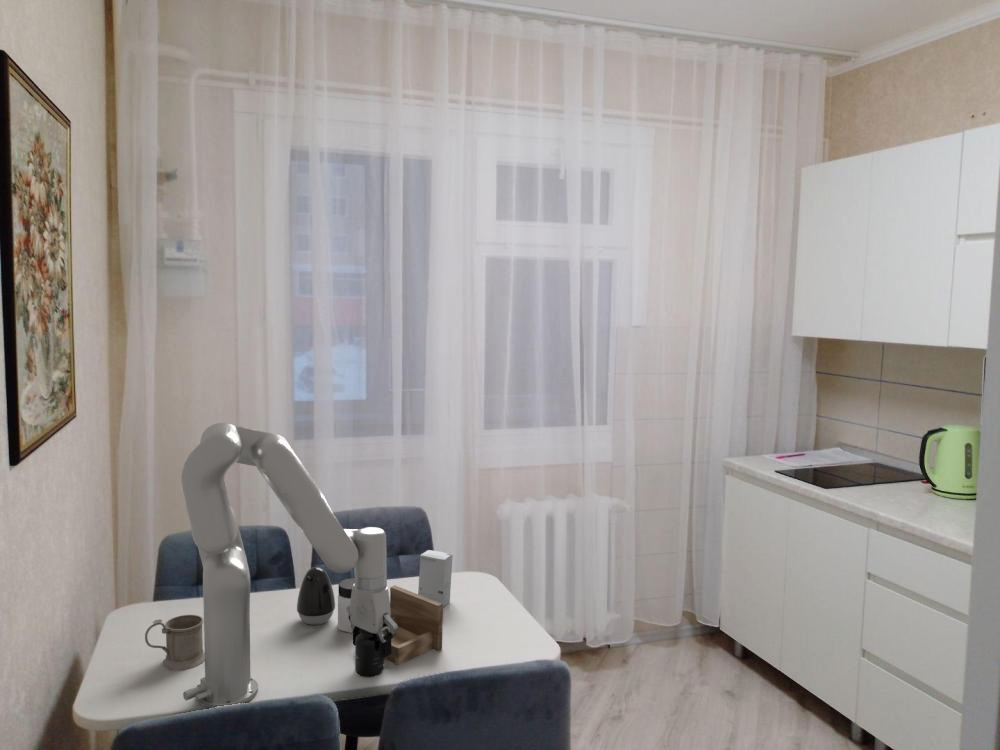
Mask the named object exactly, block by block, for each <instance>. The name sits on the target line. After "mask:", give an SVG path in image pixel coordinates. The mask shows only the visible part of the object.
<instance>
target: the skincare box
mask: <svg viewBox="0 0 1000 750" xmlns="http://www.w3.org/2000/svg"><path fill="white" fill-rule="evenodd" d="M453 556H454V555H453V554H452V553H447V552H443V551H439V550H438V551H437V550H432V549H431V550H430V549H428V550H426V551H425V552H423V553H421V554H420V559H419V573H418V574H419V575H418V591H417V594H418V595H421V596H423V597H426V598H429V599H431V600H434V601H436V602H439V603H441V604H443V608H445V606H447V605H448V604H449V603H450V601H451V589H452V585H451V584H452V571H453V569H452V568H453Z"/></svg>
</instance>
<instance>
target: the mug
mask: <svg viewBox="0 0 1000 750" xmlns="http://www.w3.org/2000/svg"><path fill="white" fill-rule="evenodd" d="M159 625H161V626H162V628H161V633H162V634H163V635H165V640H166V643H165V644H166V646H163V645H153V644H151V643H150V642H149V639H148V636H149V635H148V634H149V632H150V630H151V629H152V628H154V627H156V626H159ZM203 625H204V617H203V616H200V615H197V614H184V615H183V614H182V615H179V616H175V617H172V618H169V619H168V620H167V621H165V623H164V622H163V619H156V620H153V621H152V624H151V625H149V627H148V628H147V629H146V631H145V633H144V642H145V643H146V645H147V646H148V647H150V648H153V649H162V650H163V651H164V652H165V653H166V655H165V658H164V659H163V660H162V666H163V667H164V668H165V669H167V670H170V671H185V670H189V669H193V668H195V667H196V668H197V667H198V666H200V665H201V664H203V663H205V651H204V649H203V647H204V646H203V645H204V641H203Z"/></svg>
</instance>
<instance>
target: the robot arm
mask: <svg viewBox="0 0 1000 750" xmlns="http://www.w3.org/2000/svg"><path fill="white" fill-rule="evenodd" d="M199 440H200V441H199V444H198V445H197V446H196V447H195V448H193V450H192V451H191V452H190V454H188V457H187V458H186V460H185V462H184V464H183V467H182V471H181V488H182V493H183V497H184V501H185V506H186V510H187V516H188V519H189V523H190V529H191V530H190V531H191V536H192V539H193V542H194V544H195V546H197V548H198V552H199V557H200V559H201V564H202V568H203V571H202V598H203V632H204V635H203V637H204V641H203V645H204V653H205V661H204V677H202V678H200V683H199V684H197V685H196V687H194V688H191V689H187V690H185V691H183V693H182V695H183V699H184V701H189V700H191V699H195V701H196V702H198V703H200V705H202V706H204V707H205V708H210V707H217V706H224V705H232V704H238V703H243V704H246V703H247V702H249V701H251V700H252V699H254V698H255V696H256V695H257V693H258V691H259V684H258V681H256V679H254V678H252V677H251V617H250V616H251V614H250V613H251V612H250V611H251V609H250V607H251V606H250V605H251V604H250V603H251V601H250V600H251V599H250V598H251V573H250V568H249V564H248V559H247V555H246V552H245V547H244V544H243V543H244V542H243V539H242V535H241V531H240V526H239V523H238V518H237V514H236V512H235V510H234V508H233V507H232V506H231V505H230V501H229V496H228V491H227V486H226V482H225V476H226V474H227V472H228V471H229V470H230V468H231V467H232V466H234V465H235V464H242V465H246V466H251V467H256V468H257V471H258V472H259V473H260V474H261V476H262V478H263V479H264V480H265V482H266V483H267V485H268V486H269V487H270V489H271V490H272V491H273V493H274V494H275V496H276V497H277V498H278V500H279V501H280V503H281V504H282V506H283V507H284V508H285V510H286V512H288V515H289V516H290V518H291V519H292V521H294V523H295V524H296V525H297V527H299V529H300V531H302V533H303V534H304V536H305V538H306V539H307V541H309V543H310V545H311V546H312V547H313V550H315V552H316V553H317V555H318V556H319V557H320V558H321V561H322V562H323V563H324V565H325V566H326V567H327V569H329V570H330V571H331V572H333V573H336V574H346V573H349V572H351V571H352V570H353V569H354V571H353V573H354V578H355V583H354V584H353V588H352V593H351V603H350V606H348V607H347V608H346V609H347V612H348V615H349V617H348V618H349V620H350V622H351V628H352V629H353V633H352V645H353V646H355V638H356V636H357V634H358V633H359V632H360V631H359V630H360V628H362V629H364V630H366V631H368V632H370V633H373V634H376V633H378V635H379V637H380V639H381V641H380V643H379V652H380V658H384V657H386V656H388V655H390V654H391V653H392V650H391V639H393V637H394V636H395V635H396V631H397V629H398V626H397V624H396V623H395V622H394V621H393V620H392V619H391V608H390V591H389V588H388V582H387V581H388V572H387V571H388V568H387V534H386V531H385V530H384V529H382V528H381V527H378V526H377V527H376V526H368V527H362V528H359V529H357V528H356V529H353V528H343V526H342V525H341V523H340V522H339V520H338V519H337V517H336V515H335V514H334V512H333V510H332V508H331V507H330V505H329V503H328V501H327V498H326V497H325V495H324V493H323V492H322V489H320V487H319V486H318V483H316V482H315V480H314V478H313V477H312V475H310V473H309V472H308V470H307V468H306V467H305V465H304V464H303V462H302V461H301V460H300V458H299V457H298V455H297V454H296V452H295V450H294V449H293V448H292V447H291V445H290V443H289V441H288V440H287V439H286V438H285V437H284V436H281V435H280V434H277V433H273V432H269V431H265V430H261V429H256V428H255V429H254V428H250V427H245V426H241V425H236V424H231V423H227V422H218V423H217V422H216V423H214V424H211V425H209V426H208V427H207V428H205V430H204V431H203V432H202V434H201V436H200V439H199ZM382 627H383V628H382ZM384 630H385V631H386V633H387V634H386V635H385V636H384V634H383V632H382V631H384ZM245 702H246V703H245ZM210 709H211V708H210Z"/></svg>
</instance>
